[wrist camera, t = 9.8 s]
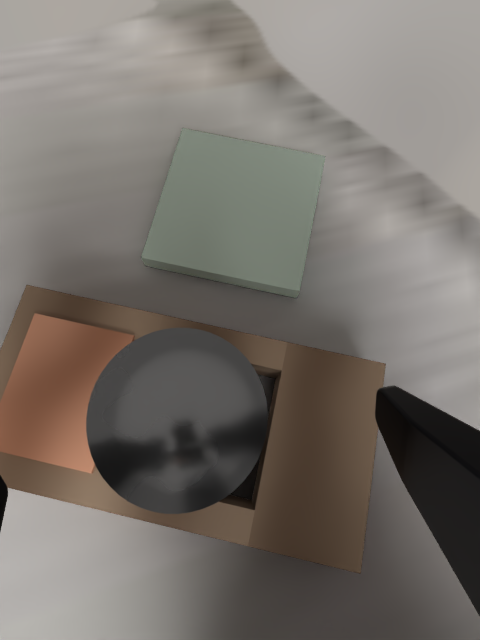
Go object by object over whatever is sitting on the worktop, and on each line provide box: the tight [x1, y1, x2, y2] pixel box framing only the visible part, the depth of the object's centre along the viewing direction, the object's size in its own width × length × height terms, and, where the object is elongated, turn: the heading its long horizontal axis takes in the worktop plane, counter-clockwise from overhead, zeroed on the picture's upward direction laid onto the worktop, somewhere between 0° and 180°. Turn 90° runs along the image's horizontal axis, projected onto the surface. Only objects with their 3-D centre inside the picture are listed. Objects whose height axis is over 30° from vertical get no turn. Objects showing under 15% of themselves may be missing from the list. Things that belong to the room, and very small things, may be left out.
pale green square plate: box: [141, 128, 326, 298], centre depth 21 cm, size 8×8×1 cm
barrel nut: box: [86, 328, 268, 514], centre depth 14 cm, size 4×4×10 cm
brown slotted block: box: [0, 285, 386, 574], centre depth 17 cm, size 16×8×3 cm, turn 77°
